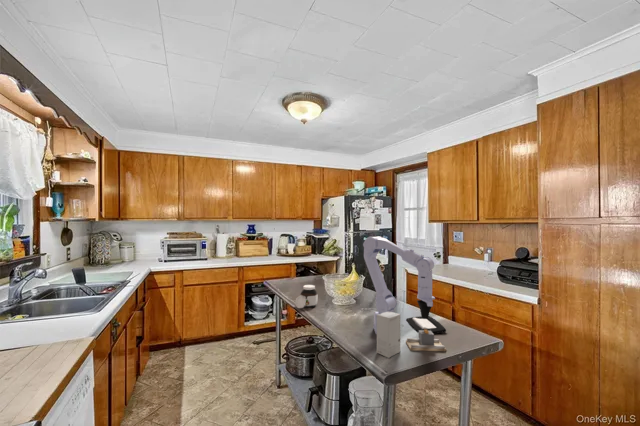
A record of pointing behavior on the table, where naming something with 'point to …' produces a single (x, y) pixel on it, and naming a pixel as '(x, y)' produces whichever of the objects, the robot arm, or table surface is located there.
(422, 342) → the module
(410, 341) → the rail board
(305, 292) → the spread jar
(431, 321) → the black picture frame
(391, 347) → the skincare box
